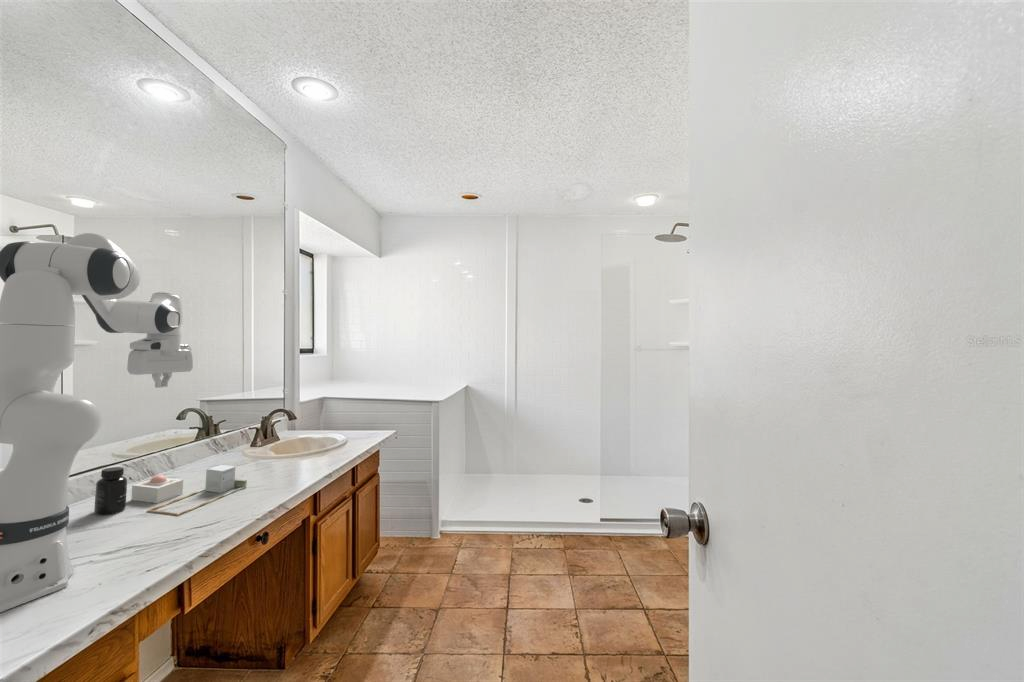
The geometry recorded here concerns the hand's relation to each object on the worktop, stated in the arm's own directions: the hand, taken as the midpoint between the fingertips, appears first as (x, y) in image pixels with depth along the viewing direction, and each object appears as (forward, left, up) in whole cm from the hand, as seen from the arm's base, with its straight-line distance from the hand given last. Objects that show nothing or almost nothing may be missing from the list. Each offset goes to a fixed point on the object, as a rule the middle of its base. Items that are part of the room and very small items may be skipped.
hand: (161, 387), depth 147 cm
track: (0, -16, -34) cm, 38 cm away
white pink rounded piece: (-2, -3, -34) cm, 34 cm away
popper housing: (-2, -3, -34) cm, 34 cm away
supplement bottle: (-15, -1, -34) cm, 37 cm away
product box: (+10, -15, -34) cm, 39 cm away
